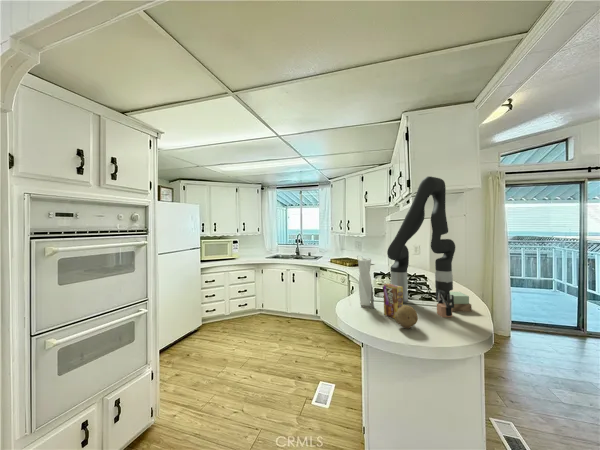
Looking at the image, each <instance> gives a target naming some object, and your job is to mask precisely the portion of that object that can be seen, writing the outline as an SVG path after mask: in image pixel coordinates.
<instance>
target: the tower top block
mask: <svg viewBox="0 0 600 450" xmlns="http://www.w3.org/2000/svg"><path fill="white" fill-rule="evenodd" d="M450 295H453V296H454V304H470V295H467V294H465V293H464V292H462V291H450ZM451 304H452V303H451Z"/></svg>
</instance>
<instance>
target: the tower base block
mask: <svg viewBox="0 0 600 450" xmlns="http://www.w3.org/2000/svg"><path fill="white" fill-rule="evenodd" d="M443 304H445V303H443ZM472 310H473V309H472V304H471V303H469V304H454V308H452V312H464V313H465V312H466V313H467V312H472Z"/></svg>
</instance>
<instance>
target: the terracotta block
mask: <svg viewBox="0 0 600 450" xmlns="http://www.w3.org/2000/svg"><path fill="white" fill-rule="evenodd" d="M451 311H452V308H451ZM452 312H453V311H452ZM436 314H437V315H438V316H440V318H453V314H452V315H451V316H447V315H446V306H445V304H438V303H436Z"/></svg>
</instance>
